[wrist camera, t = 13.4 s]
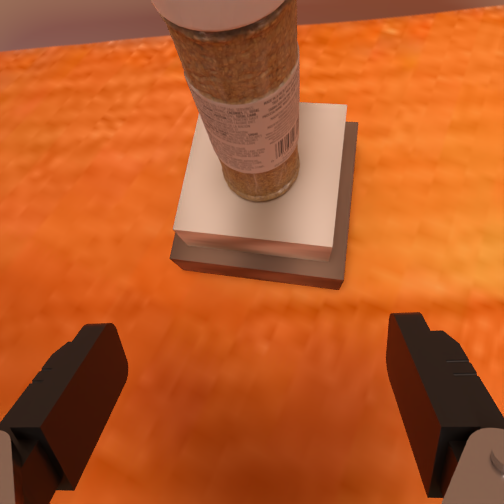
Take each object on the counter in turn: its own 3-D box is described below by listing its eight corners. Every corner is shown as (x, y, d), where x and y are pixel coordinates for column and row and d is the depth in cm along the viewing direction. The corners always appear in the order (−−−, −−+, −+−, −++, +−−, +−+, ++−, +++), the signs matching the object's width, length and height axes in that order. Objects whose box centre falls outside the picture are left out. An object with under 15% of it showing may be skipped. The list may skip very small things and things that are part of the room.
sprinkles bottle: (260, 121, 23) (213, -187, 10) (317, 165, 22) (343, -125, 9) (206, 172, 22) (84, -87, 10) (261, 220, 21) (203, -5, 8)
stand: (183, 269, 27) (152, 243, 21) (211, 137, 30) (190, 83, 24) (338, 289, 25) (350, 267, 20) (352, 146, 28) (365, 91, 23)
